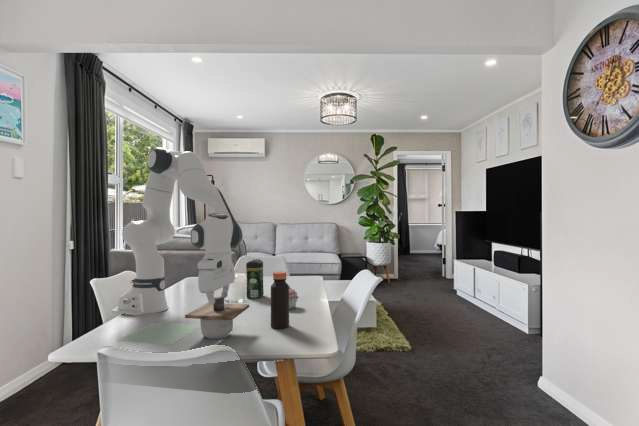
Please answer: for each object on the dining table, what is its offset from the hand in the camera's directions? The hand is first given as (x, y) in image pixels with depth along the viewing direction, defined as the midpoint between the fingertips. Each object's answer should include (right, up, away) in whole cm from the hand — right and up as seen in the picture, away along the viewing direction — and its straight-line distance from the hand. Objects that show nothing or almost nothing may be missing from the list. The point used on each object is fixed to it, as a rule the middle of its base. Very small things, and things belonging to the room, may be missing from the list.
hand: (218, 300), depth 125 cm
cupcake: (+21, -12, +36) cm, 43 cm away
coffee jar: (+2, -12, +56) cm, 58 cm away
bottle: (+20, -12, +9) cm, 25 cm away
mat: (-20, -12, +2) cm, 23 cm away
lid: (0, -4, 0) cm, 4 cm away
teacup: (0, -12, 0) cm, 12 cm away
